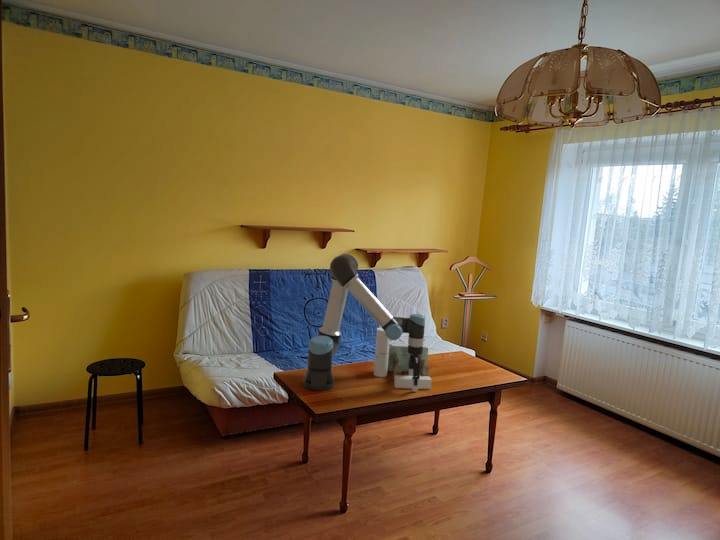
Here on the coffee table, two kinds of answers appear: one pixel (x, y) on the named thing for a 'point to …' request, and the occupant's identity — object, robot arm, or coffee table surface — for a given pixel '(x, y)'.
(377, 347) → the cylindrical container
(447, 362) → the coffee table surface
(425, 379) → the rail
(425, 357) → the cup bracket
